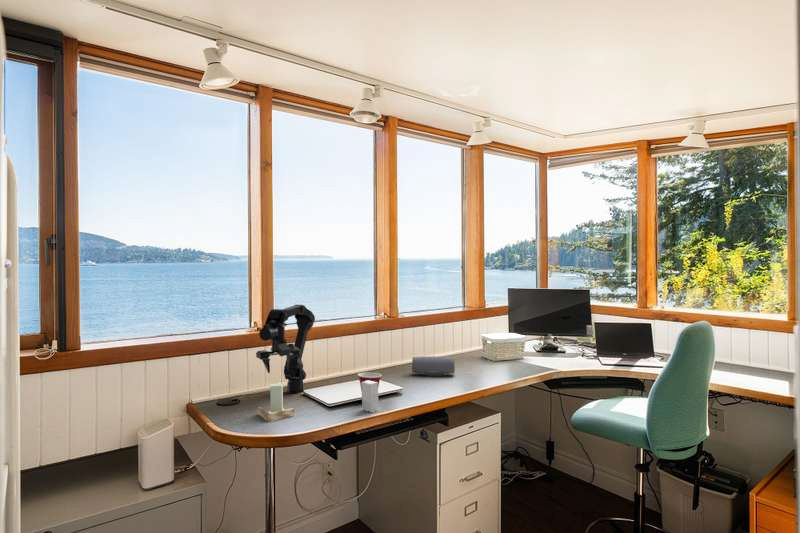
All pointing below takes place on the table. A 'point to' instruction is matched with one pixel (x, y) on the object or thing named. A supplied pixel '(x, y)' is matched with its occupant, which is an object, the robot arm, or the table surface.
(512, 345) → the storage basket
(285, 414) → the beige flat l-shaped piece
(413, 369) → the bluetooth speaker
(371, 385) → the skincare box
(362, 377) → the plastic cup
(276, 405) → the sage block
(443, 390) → the table surface
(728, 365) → the table surface
